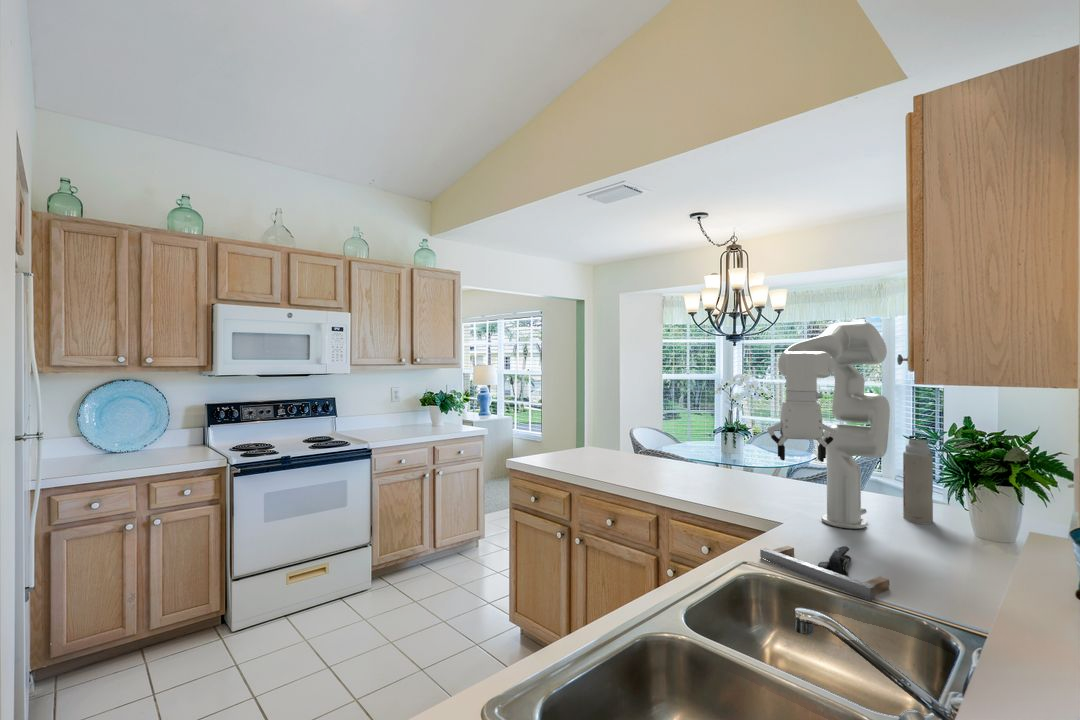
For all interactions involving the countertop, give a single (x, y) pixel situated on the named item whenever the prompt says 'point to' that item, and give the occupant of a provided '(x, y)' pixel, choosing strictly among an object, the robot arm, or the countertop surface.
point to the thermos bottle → (918, 482)
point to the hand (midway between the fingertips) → (801, 460)
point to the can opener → (837, 561)
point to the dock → (825, 574)
